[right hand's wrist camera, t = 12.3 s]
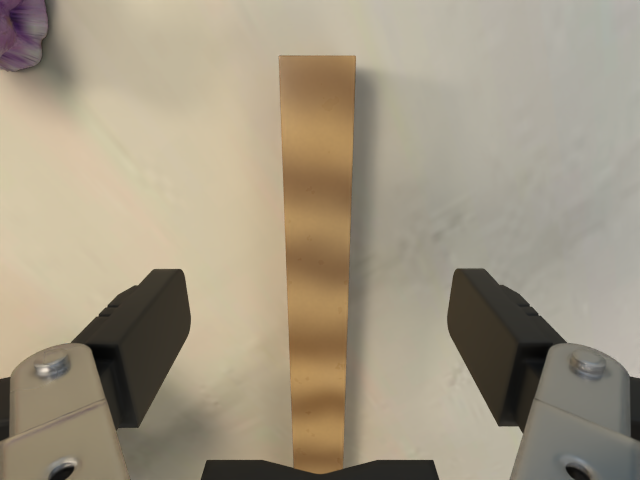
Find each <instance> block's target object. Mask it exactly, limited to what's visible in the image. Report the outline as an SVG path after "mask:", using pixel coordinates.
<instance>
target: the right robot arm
mask: <svg viewBox="0 0 640 480" xmlns="http://www.w3.org/2000/svg"><path fill="white" fill-rule="evenodd" d="M447 323H448V330H449V333H450V336H451V338H452V340H453V342H454V343H455V345H456V347H457V349H458V351H459V353H460V355H461V357H462V358H463V360H464V362H465V364H466V366H467V368H468V370H469V372H470V373H471V375H472V377H473V379H474V381H475V383H476V385H477V387H478V388H479V390H480V392H481V394H482V396H483V398H484V400H485V402H486V403H487V405H488V407H489V409H490V411H491V413H492V415H493V417H494V418H495V420H496V422H497V424H498V426H519V428H520V429H521V431H522V433H523V436H522V440H521V443H520V447H519V450H518V453H517V457H516V460H515V463H514V467H513V470H512V473H511V477H510V480H640V378H635V377H630V376H629V374H628V372H627V371H626V369H625V368H624V367H623V366H622V365H621V364H620V363H619V362H617V361H616V360H615V359H613V358H612V357H610V356H608V355H607V354H605V353H603V352H601V351H598V350H596V349H593V348H590V347H587V346H584V345H579V344H572V343H567V342H566V341H565V340H564V339H563V338H562V337H561V336H560V335H559V334H558V333H557V332H556V331H555V330H554V329H553V328H552V327H551V326H550V325H549V324H548V323H547V322H546V321H545V320H544V319H543V318H542V317H541V316H539V315H538V313H537V312H536V311H535V310H534V309H533V308H532V307H530V305H529V303H528V302H527V301H526V300H525V299H524V298H523V297H522V296H521V295H520V294H518V293H517V292H515V291H513V290H511V289H509V288H508V287H506V286H504V285H499V284H498V283H497V282H496V281H495V280H494V279H493V277H492V276H491V275H490V274H489V273H488V272H487V271H486V270H485V269H456V270H455V272H454V275H453V281H452V287H451V294H450V301H449V308H448V315H447ZM190 324H191V315H190V308H189V301H188V295H187V288H186V281H185V276H184V273H183V271H182V270H181V269H154V270H152V271H151V272H150V273H149V274H148V276H147V277H146V278H145V279H144V280H143V281H142V282H141V283H140V284H139V285H138V286H133V287H131V288H129V289H128V290H126V291H124V292H122V293H120V294H119V295H118V296H117V297H116V298H115V299H114V300H113V301H112V302H111V303H110V304H109V305H108V308H105V309H104V310H103V311H102V312H101V313H100V314H99V317H96V318H95V319H94V320H93V321H92V322H91V323H90V324H89V325H88V326H87V327H86V328H85V329H84V330H83V331H82V332H81V333H80V334H79V335H78V336H77V337H76V338H75V339H74V340H73V341H72V342H71V343H68V344H61V345H56V346H53V347H50V348H47V349H44V350H42V351H39V352H37V353H35V354H33V355H32V356H30V357H28V358H27V359H25V360H24V361H23V362H21V363H20V364H19V365H18V366H17V367H16V368H15V369H14V371H13V372H12V374H11V377H8V378H3V379H0V480H130V477H129V473H128V470H127V467H126V463H125V460H124V457H123V453H122V450H121V447H120V443H119V440H118V436H117V433H116V430H117V429H118V428H138V427H139V426H140V424H141V422H142V420H143V418H144V416H145V414H146V413H147V411H148V409H149V407H150V405H151V403H152V401H153V400H154V398H155V396H156V394H157V392H158V390H159V388H160V387H161V385H162V383H163V381H164V379H165V377H166V376H167V374H168V372H169V370H170V368H171V366H172V364H173V363H174V361H175V359H176V357H177V355H178V353H179V351H180V350H181V348H182V346H183V344H184V342H185V340H186V339H187V337H188V334H189V331H190ZM201 480H439V477H438V474H437V471H436V468H435V464H434V461H433V460H376V461H372V462H368V463H364V464H360V465H356V466H353V467H349V468H345V469H341V470H337V471H333V472H329V473H325V474H315V473H311V472H307V471H303V470H299V469H295V468H291V467H287V466H284V465H280V464H276V463H272V462H268V461H264V460H207V461H206V464H205V468H204V471H203V474H202V477H201Z"/></svg>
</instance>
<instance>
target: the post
mask: <svg viewBox="0 0 640 480" xmlns="http://www.w3.org/2000/svg"><path fill="white" fill-rule="evenodd" d="M355 68H356V56H279V77H280V104H281V131H282V159H283V186H284V214H285V241H286V269H287V296H288V324H289V351H290V379H291V406H292V433H293V461H294V468H295V469H299V470H303V471H307V472H311V473H315V474H325V473H329V472H333V471H337V470H341V469H343V450H344V418H345V387H346V355H347V323H348V291H349V259H350V228H351V196H352V164H353V132H354V100H355Z"/></svg>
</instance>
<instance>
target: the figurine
mask: <svg viewBox="0 0 640 480" xmlns="http://www.w3.org/2000/svg"><path fill="white" fill-rule="evenodd" d="M48 28H49V26H48V16H47V13H46V7H45V1H44V0H0V69H4V70H6V71H12V72H13V71H18V70H19V69H20V70H21V69H22V68H23V69H24V68H28V67H31V66H32V67H33V66H34V65H37V63H39V62H40V60H41V57H42V47H41V42H42V40H43V38H45V37H46V35H47V32H48Z"/></svg>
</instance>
